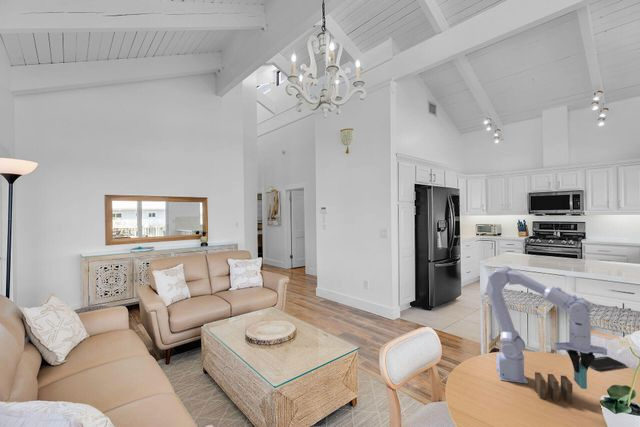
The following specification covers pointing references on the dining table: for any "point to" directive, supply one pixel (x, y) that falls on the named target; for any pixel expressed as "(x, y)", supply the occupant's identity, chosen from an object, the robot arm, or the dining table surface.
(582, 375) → the domino teal placed
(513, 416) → the dining table surface
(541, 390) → the domino
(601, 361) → the phone
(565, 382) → the domino
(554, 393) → the domino
